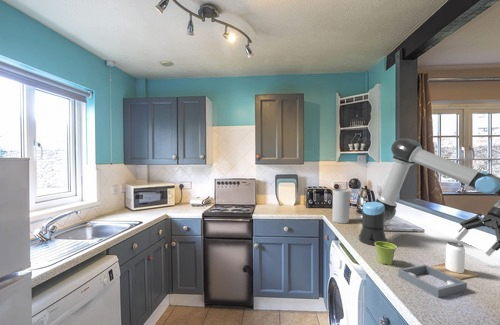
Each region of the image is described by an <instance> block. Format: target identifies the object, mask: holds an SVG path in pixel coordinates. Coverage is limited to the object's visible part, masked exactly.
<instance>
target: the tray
mask: <svg viewBox="0 0 500 325" xmlns="http://www.w3.org/2000/svg"><path fill="white" fill-rule="evenodd" d="M397 271H398V273H397V274H398V275H397V277H399V278H401V279H403V280H404V281H406V282H409V283H410V284H412V285H414V286H415V287H416V288H417V287H418V288H419V289H421V290H423V291H424V292H426V293H428V294H431V295H432V296H434V297H436V298H443V297H447V296H449V295H450V296H452V295H455V294H458V293H463V292H466V290H467V291H468V283H467V282H465V281H464V280H459V279H457V278H455V277H453V276H450V275H448V274H446V273H444V272H441V271H439V270H437V269H434V268H432V267H431V266H429V265H426V264H421V265H420V264H419V265H416V266H409V267H405V268H399V269H397ZM424 273H425V274H428V275H430V276H432V277H434V278H437V279H439V280H441V281H443V282H445V283H446V285H443V286H440V287H436V286H434V285H432V284H431V283H428V282H427V281H424V280H423V279H420V278H419V277H417V275H419V274H424Z"/></svg>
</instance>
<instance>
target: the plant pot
mask: <svg viewBox="0 0 500 325" xmlns="http://www.w3.org/2000/svg"><path fill="white" fill-rule="evenodd" d="M375 245H376V246H375V249H376V253H377V254H376V255H377V261H378V263H380V264H381V265H392V264H393V262H394V257H395V253H396V249H397V247H398V246H397V245H396V244H394V243H391V242H389V241H387V242H381V241H378V242H375Z"/></svg>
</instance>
